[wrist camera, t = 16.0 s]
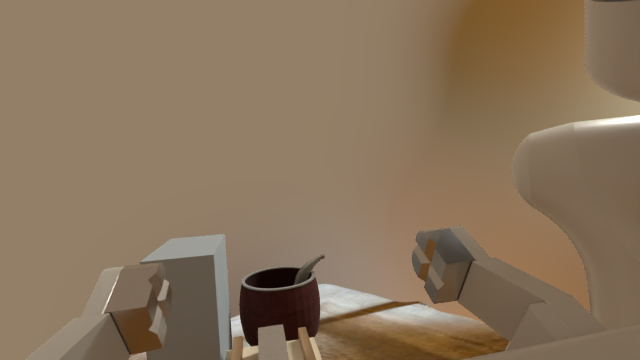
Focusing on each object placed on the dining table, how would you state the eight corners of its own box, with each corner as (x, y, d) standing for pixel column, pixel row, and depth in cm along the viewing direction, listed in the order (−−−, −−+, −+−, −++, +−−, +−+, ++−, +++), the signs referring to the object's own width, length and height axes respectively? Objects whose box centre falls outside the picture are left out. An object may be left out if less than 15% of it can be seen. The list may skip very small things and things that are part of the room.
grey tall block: (235, 395, 53) (224, 234, 53) (228, 471, 40) (213, 254, 39) (182, 404, 52) (171, 238, 51) (156, 487, 38) (139, 261, 38)
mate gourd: (248, 409, 50) (240, 277, 50) (241, 361, 63) (234, 256, 63) (344, 383, 55) (337, 262, 54) (318, 343, 68) (313, 246, 68)
